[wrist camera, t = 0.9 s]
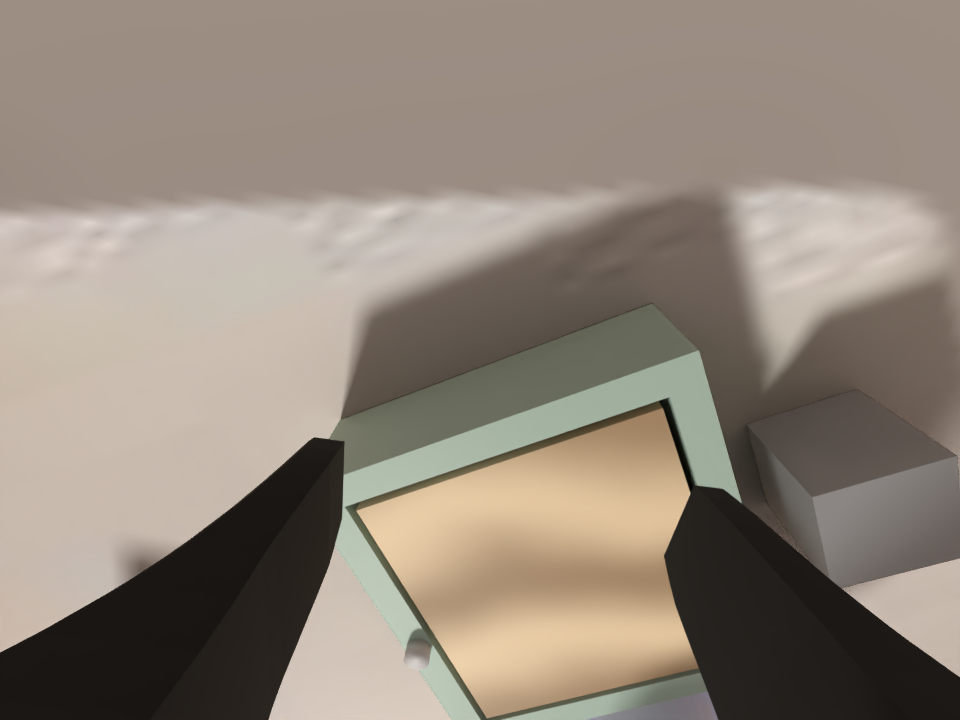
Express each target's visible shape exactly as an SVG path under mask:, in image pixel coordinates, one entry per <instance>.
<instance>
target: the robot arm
mask: <svg viewBox="0 0 960 720" xmlns="http://www.w3.org/2000/svg"><path fill="white" fill-rule="evenodd" d="M344 447H345V441H338V440H330V439H322V438H313V439H311V440H310V441H308V442H307V443H306V444H305V445H304V446H303V447H302V448H300V449H299V450H298V451H297V452H296V453H295V454H294V455H293V456H292V457H291V458H289V459H288V460H287V461H286V462H285V463H284V464H283V465H282V466H281V467H279V468H278V469H277V470H276V471H275V472H274V473H273V474H271V475H270V476H269V477H268V478H267V479H266V480H265V481H263V482H262V483H261V484H260V485H259V486H257V487H256V488H255V489H254V490H253V491H251V492H250V493H249V494H248V495H247V496H245V497H244V498H243V499H242V500H241V501H239V502H238V503H237V504H236V505H235V506H233V507H232V508H231V509H229V510H228V511H227V512H226V513H224V514H223V515H222V516H220V517H219V518H218V519H216V520H215V521H214V522H212V523H211V524H210V525H208V526H207V527H206V528H204V529H203V530H202V531H200V532H199V533H198V534H197V535H195V536H194V537H193V538H191V539H190V540H188V541H187V542H186V543H184V544H183V545H181V546H180V547H179V548H177V549H176V550H174V551H173V552H171V553H170V554H168V555H167V556H166V557H164V558H163V559H161V560H160V561H158V562H157V563H155V564H154V565H152V566H151V567H149V568H147V569H146V570H144V571H143V572H141V573H140V574H138V575H137V576H135V577H134V578H132V579H130V580H129V581H127V582H126V583H124V584H122V585H121V586H119V587H117V588H116V589H114V590H112V591H111V592H109V593H107V594H106V595H104V596H102V597H101V598H99V599H97V600H95V601H94V602H92V603H90V604H88V605H87V606H85V607H83V608H81V609H80V610H78V611H76V612H74V613H73V614H71V615H69V616H67V617H66V618H64V619H62V620H60V621H59V622H57V623H55V624H53V625H52V626H50V627H48V628H46V629H44V630H43V631H41V632H39V633H37V634H35V635H33V636H31V637H29V638H27V639H25V640H24V641H22V642H20V643H18V644H16V645H14V646H12V647H10V648H8V649H6V650H4V651H2V652H0V720H268V719H269V716H270V713H271V710H272V707H273V704H274V701H275V698H276V696H277V693H278V690H279V688H280V685H281V682H282V679H283V677H284V675H285V672H286V670H287V667H288V665H289V662H290V660H291V658H292V655H293V653H294V650H295V648H296V645H297V643H298V640H299V638H300V636H301V633H302V631H303V628H304V626H305V623H306V621H307V619H308V616H309V614H310V611H311V609H312V606H313V604H314V601H315V599H316V597H317V594H318V592H319V589H320V587H321V584H322V582H323V579H324V577H325V574H326V572H327V569H328V567H329V564H330V560H331V557H332V553H333V550H334V546H335V543H336V539H337V536H338V532H339V528H340V525H341V521H342V510H343V479H344ZM664 559H665V564H666V569H667V573H668V578H669V582H670V586H671V590H672V594H673V598H674V602H675V606H676V608H677V611H678V614H679V617H680V620H681V622H682V625H683V628H684V630H685V633H686V636H687V639H688V641H689V644H690V647H691V649H692V652H693V655H694V657H695V660H696V662H697V665H698V668H699V670H700V673H701V676H702V678H703V681H704V683H705V686H706V689H707V691H708V692H704V693H699V694H695V695H690V696H686V697H682V698H677V699H673V700H669V701H664V702H660V703H655V704H651V705H647V706H642V707H638V708H633V709H629V710H625V711H620V712H616V713H612V714H607V715H603V716H598V717H594V718H590V719H585V720H960V677H959V676H957V675H956V674H954V673H953V672H952V671H950V670H949V669H947V668H946V667H945V666H943V665H942V664H940V663H939V662H938V661H936V660H935V659H933V658H932V657H931V656H929V655H928V654H926V653H925V652H924V651H922V650H921V649H919V648H918V647H917V646H915V645H914V644H912V643H911V642H909V641H908V640H907V639H905V638H904V637H903V636H901V635H900V634H899V633H897V632H896V631H895V630H893V629H892V628H891V627H889V626H888V625H887V624H885V623H884V622H883V621H882V620H880V619H879V618H878V617H877V616H875V615H874V614H873V613H871V612H870V611H869V610H868V609H866V608H865V607H864V606H863V605H861V604H860V603H859V602H858V601H856V600H855V599H854V598H853V597H851V596H850V595H849V594H847V593H846V592H845V591H844V590H843V589H841V588H840V587H839V586H838V585H837V584H835V583H834V582H833V581H832V580H830V579H829V578H828V577H827V576H826V575H824V574H823V573H822V572H821V571H820V570H819V569H817V568H816V567H815V566H814V565H813V564H811V563H810V562H809V561H808V560H807V559H806V558H804V557H803V556H802V555H801V554H800V553H799V552H797V551H796V550H795V549H794V548H793V547H792V546H790V545H789V544H788V543H787V542H786V541H785V540H784V539H782V538H781V537H780V536H779V535H778V534H777V533H775V532H774V531H773V530H772V529H771V528H770V527H769V526H767V525H766V524H765V523H764V522H763V521H762V520H761V519H759V518H758V517H757V516H756V515H755V514H754V513H752V512H751V511H750V510H749V509H748V508H746V507H745V506H744V505H743V504H742V503H740V502H739V501H738V500H737V499H736V498H734V497H733V496H732V495H730V494H729V493H728V492H727V491H725V490H724V489H721V488H713V487H705V486H697V485H694V487H693V489H692V491H691V494H690V496H689V498H688V501H687V503H686V505H685V508H684V510H683V512H682V515H681V517H680V519H679V522H678V524H677V526H676V529H675V531H674V533H673V536H672V538H671V540H670V543H669V545H668V547H667V550H666V552H665V554H664Z"/></svg>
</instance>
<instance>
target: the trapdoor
mask: <svg viewBox="0 0 960 720" xmlns="http://www.w3.org/2000/svg"><path fill="white" fill-rule="evenodd" d="M689 496H690V491H689V487H688V484H687V481H686V478H685V475H684V472H683V469H682V466H681V463H680V460H679V456H678V453H677V450H676V447H675V444H674V441H673V438H672V435H671V432H670V429H669V426H668V422H667V419H666V416H665V413H664V410H663V408H662V406H661V404H660V403H659V401H656V402H654V403H651V404H648V405H645V406H642V407H639V408H636V409H633V410H630V411H627V412H624V413H621V414H618V415H615V416H612V417H609V418H606V419H603V420H600V421H597V422H594V423H591V424H588V425H585V426H582V427H580V428H577V429H574V430H571V431H568V432H565V433H562V434H559V435H556V436H553V437H550V438H547V439H544V440H541V441H538V442H535V443H532V444H529V445H526V446H523V447H520V448H517V449H514V450H511V451H509V452H506V453H503V454H500V455H497V456H494V457H491V458H488V459H485V460H482V461H479V462H476V463H473V464H470V465H467V466H464V467H461V468H458V469H455V470H452V471H449V472H446V473H443V474H440V475H437V476H435V477H432V478H429V479H426V480H423V481H420V482H417V483H414V484H411V485H408V486H405V487H402V488H399V489H396V490H393V491H390V492H387V493H384V494H381V495H378V496H375V497H372V498H369V499H366V500H364V501H361V502H360V503H359V505H358V508H357V510H356V511H357V513H358V514H359V516H360V517H361V519H362V521H363V522H364V524H365V525H366V527H367V529H368V530H369V532H370V533H371V535H372V537H373V538H374V540H375V541H376V543H377V544H378V546H379V548H380V549H381V551H382V552H383V554H384V556H385V557H386V559H387V560H388V562H389V564H390V565H391V567H392V568H393V570H394V571H395V573H396V575H397V576H398V578H399V579H400V581H401V583H402V584H403V586H404V587H405V589H406V591H407V592H408V594H409V595H410V597H411V598H412V600H413V602H414V603H415V605H416V606H417V608H418V610H419V611H420V613H421V614H422V616H423V618H424V619H425V621H426V622H427V624H428V625H429V627H430V629H431V630H432V632H433V633H434V635H435V637H436V638H437V640H438V641H439V643H440V645H441V646H442V648H443V649H444V651H445V653H446V654H447V656H448V657H449V659H450V660H451V662H452V664H453V665H454V667H455V668H456V670H457V672H458V673H459V675H460V676H461V678H462V680H463V681H464V683H465V684H466V686H467V687H468V689H469V691H470V692H471V694H472V695H473V697H474V699H475V700H476V702H477V703H478V705H479V707H480V708H481V710H482V711H483V713H484V714H485V716H486V718H490V717H495V716H499V715H503V714H507V713H512V712H516V711H520V710H524V709H528V708H533V707H537V706H541V705H545V704H550V703H554V702H558V701H562V700H566V699H571V698H575V697H579V696H583V695H587V694H592V693H596V692H600V691H604V690H609V689H613V688H617V687H621V686H625V685H630V684H634V683H638V682H642V681H647V680H651V679H655V678H659V677H663V676H668V675H672V674H676V673H680V672H684V671H689V670H693V669H697V668H698V665H697V662H696V660H695V657H694V655H693V652H692V649H691V647H690V644H689V641H688V639H687V636H686V633H685V630H684V628H683V625H682V622H681V620H680V617H679V614H678V611H677V608H676V606H675V602H674V598H673V594H672V590H671V586H670V582H669V578H668V573H667V569H666V564H665V559H664V554H665V552H666V550H667V547H668V545H669V543H670V540H671V538H672V536H673V533H674V531H675V529H676V526H677V524H678V522H679V519H680V517H681V515H682V512H683V510H684V508H685V505H686V503H687V501H688V498H689Z"/></svg>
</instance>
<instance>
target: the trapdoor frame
mask: <svg viewBox="0 0 960 720" xmlns="http://www.w3.org/2000/svg"><path fill="white" fill-rule="evenodd" d="M656 401H659V403H660V404H661V406H662V408H663V410H664V413H665V416H666V419H667V422H668V426H669V429H670V432H671V435H672V438H673V441H674V444H675V447H676V450H677V453H678V456H679V460H680V463H681V466H682V469H683V472H684V475H685V478H686V481H687V484H688V487H689V491H690V494H691V491H692V489H693V487H694V485H697V486H705V487H713V488H721V489H724V490H725V491H727V492H728V493H729V494H730V495H732V496H733V497H734V498H736V499H737V500H738V501H739V502H740V503H742V502H741V498H740V495H739V491H738V488H737V484H736V481H735V477H734V473H733V470H732V466H731V463H730V459H729V456H728V452H727V448H726V445H725V441H724V438H723V434H722V431H721V427H720V423H719V420H718V416H717V413H716V409H715V405H714V402H713V398H712V395H711V391H710V388H709V384H708V380H707V377H706V373H705V370H704V366H703V363H702V359H701V355H700V352H699V350H698V349H697V348H696V347H695V346H694V345H693V344H692V343H691V342H690V341H689V340H688V339H687V338H686V337H685V336H684V335H683V334H682V333H681V332H680V331H679V330H678V329H677V328H676V327H675V326H674V325H673V323H672V322H671V321H670V320H669V319H668V318H667V317H666V316H665V315H664V314H663V313H662V312H661V311H660V310H659V309H658V308H657V307H656V306H655V305H654V304H653V303H651V304H649V305H646V306H643V307H641V308H638V309H635V310H633V311H630V312H627V313H625V314H622V315H619V316H617V317H614V318H611V319H609V320H606V321H603V322H601V323H598V324H595V325H593V326H590V327H587V328H584V329H582V330H579V331H576V332H574V333H571V334H568V335H566V336H563V337H560V338H558V339H555V340H552V341H550V342H547V343H544V344H542V345H539V346H536V347H534V348H531V349H528V350H526V351H523V352H520V353H518V354H515V355H512V356H510V357H507V358H504V359H502V360H499V361H496V362H494V363H491V364H488V365H486V366H483V367H480V368H478V369H475V370H472V371H470V372H467V373H464V374H462V375H459V376H456V377H454V378H451V379H448V380H446V381H443V382H440V383H438V384H435V385H432V386H430V387H427V388H424V389H422V390H419V391H416V392H414V393H411V394H408V395H406V396H403V397H400V398H398V399H395V400H392V401H389V402H387V403H384V404H381V405H379V406H376V407H373V408H371V409H368V410H365V411H363V412H360V413H357V414H355V415H352V416H349V417H347V418H344V419H341V420H340V421H339V423H338V424H337V426H336V428H335V429H334V431H333V433H332V434H331V436H330V438H329V439H330V440H338V441H345V447H344V479H343V510H342V521H341V525H340V528H339V532H338V536H337V539H336V543H335V547H336V548H337V550H338V551H339V553H340V554H341V556H342V557H343V559H344V560H345V562H346V563H347V565H348V566H349V568H350V569H351V571H352V572H353V573H354V575H355V576H356V578H357V579H358V581H359V582H360V584H361V585H362V587H363V588H364V590H365V591H366V593H367V594H368V596H369V597H370V599H371V600H372V602H373V603H374V605H375V606H376V608H377V609H378V611H379V612H380V614H381V615H382V617H383V618H384V620H385V621H386V623H387V624H388V626H389V627H390V629H391V630H392V632H393V633H394V635H395V636H396V638H397V639H398V641H399V642H400V644H401V645H402V647H403V648H404V650H405V657H404V663H405V665H406V666H407V667H408V668H410V669H413V670H418V671H419V672H420V674H421V675H422V676H423V678H424V679H425V681H426V682H427V684H428V685H429V687H430V688H431V690H432V691H433V693H434V694H435V696H436V697H437V699H438V700H439V702H440V703H441V705H442V706H443V708H444V709H445V711H446V712H447V714H448V715H449V717H450V718H451V720H585V719H590V718H594V717H598V716H603V715H607V714H612V713H616V712H620V711H625V710H629V709H633V708H638V707H642V706H647V705H651V704H655V703H660V702H664V701H669V700H673V699H677V698H682V697H686V696H690V695H695V694H699V693H704V692H708V691H707V689H706V686H705V683H704V681H703V678H702V676H701V673H700V670H699V668H697V669H693V670H689V671H684V672H680V673H676V674H672V675H668V676H663V677H659V678H655V679H651V680H647V681H642V682H638V683H634V684H630V685H625V686H621V687H617V688H613V689H609V690H604V691H600V692H596V693H592V694H587V695H583V696H579V697H575V698H571V699H566V700H562V701H558V702H554V703H550V704H545V705H541V706H537V707H533V708H528V709H524V710H520V711H516V712H512V713H507V714H503V715H499V716H495V717H490V718H486V716H485V714H484V713H483V711H482V710H481V708H480V707H479V705H478V703H477V702H476V700H475V699H474V697H473V695H472V694H471V692H470V691H469V689H468V687H467V686H466V684H465V683H464V681H463V680H462V678H461V676H460V675H459V673H458V672H457V670H456V668H455V667H454V665H453V664H452V662H451V660H450V659H449V657H448V656H447V654H446V653H445V651H444V649H443V648H442V646H441V645H440V643H439V641H438V640H437V638H436V637H435V635H434V633H433V632H432V630H431V629H430V627H429V625H428V624H427V622H426V621H425V619H424V618H423V616H422V614H421V613H420V611H419V610H418V608H417V606H416V605H415V603H414V602H413V600H412V598H411V597H410V595H409V594H408V592H407V591H406V589H405V587H404V586H403V584H402V583H401V581H400V579H399V578H398V576H397V575H396V573H395V571H394V570H393V568H392V567H391V565H390V564H389V562H388V560H387V559H386V557H385V556H384V554H383V552H382V551H381V549H380V548H379V546H378V544H377V543H376V541H375V540H374V538H373V537H372V535H371V533H370V532H369V530H368V529H367V527H366V525H365V524H364V522H363V521H362V519H361V517H360V516H359V514H358V513H357V511H356V510H357V508H358V505H359V503H360V502H361V501H364V500H366V499H369V498H372V497H375V496H378V495H381V494H384V493H387V492H390V491H393V490H396V489H399V488H402V487H405V486H408V485H411V484H414V483H417V482H420V481H423V480H426V479H429V478H432V477H435V476H437V475H440V474H443V473H446V472H449V471H452V470H455V469H458V468H461V467H464V466H467V465H470V464H473V463H476V462H479V461H482V460H485V459H488V458H491V457H494V456H497V455H500V454H503V453H506V452H509V451H511V450H514V449H517V448H520V447H523V446H526V445H529V444H532V443H535V442H538V441H541V440H544V439H547V438H550V437H553V436H556V435H559V434H562V433H565V432H568V431H571V430H574V429H577V428H580V427H582V426H585V425H588V424H591V423H594V422H597V421H600V420H603V419H606V418H609V417H612V416H615V415H618V414H621V413H624V412H627V411H630V410H633V409H636V408H639V407H642V406H645V405H648V404H651V403H654V402H656Z"/></svg>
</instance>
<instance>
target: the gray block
mask: <svg viewBox="0 0 960 720" xmlns="http://www.w3.org/2000/svg"><path fill="white" fill-rule="evenodd" d="M747 428H748V432H749V436H750V440H751V444H752V448H753V452H754V455H755V459H756V463H757V467H758V471H759V475H760V479H761V482H762V486H763V490H764V494H765V498H766V502H767V504H768V506H769V507H770V508H771V510H772V511H773V512H774V514H775V515H776V516H777V518H778V519H779V520H780V522H781V523H782V524H783V526H784V527H785V528H786V530H787V531H788V532H789V534H790V535H791V536H792V538H793V539H794V540H795V542H796V543H797V544H798V546H799V547H800V548H801V549H802V551H803V552H804V553H805V555H806V556H807V557H808V559H809V560H810V561H811V563H812V564H813V565H814V566H815V567H816V568H817V569H819V570H820V571H821V572H822V573H823V574H824V575H826V576H827V577H828V578H829V579H830V580H832V581H833V582H834V583H835V584H837V585H838V586H839V587H840V588H844V587H848V586H852V585H856V584H860V583H864V582H868V581H872V580H876V579H880V578H884V577H888V576H891V575H895V574H899V573H903V572H907V571H911V570H915V569H919V568H923V567H927V566H931V565H935V564H939V563H943V562H947V561H951V560H955V559H959V558H960V482H959V470H958V458H957V455H955V454H954V453H952V452H951V451H949V450H948V449H946V448H945V447H943V446H942V445H940V444H939V443H937V442H936V441H934V440H933V439H931V438H930V437H928V436H927V435H925V434H924V433H922V432H921V431H919V430H918V429H917V428H915V427H914V426H912V425H911V424H909V423H908V422H906V421H905V420H903V419H902V418H900V417H899V416H897V415H896V414H894V413H893V412H891V411H890V410H888V409H887V408H885V407H884V406H882V405H881V404H879V403H878V402H876V401H875V400H873V399H872V398H870V397H869V396H867V395H866V394H864V393H863V392H861V391H860V390H858V389H855V390H852V391H849V392H846V393H843V394H839V395H836V396H833V397H830V398H827V399H824V400H821V401H818V402H814V403H811V404H808V405H805V406H802V407H799V408H796V409H792V410H789V411H786V412H783V413H780V414H777V415H774V416H771V417H767V418H764V419H761V420H758V421H755V422H752V423H749V424H747Z"/></svg>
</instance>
